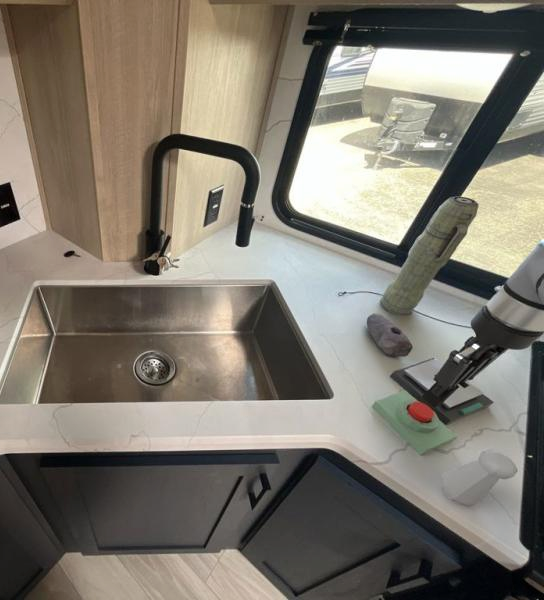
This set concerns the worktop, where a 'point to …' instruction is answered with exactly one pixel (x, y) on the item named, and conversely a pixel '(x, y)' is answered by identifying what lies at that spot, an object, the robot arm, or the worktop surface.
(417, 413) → the tare button
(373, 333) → the perforated stone tool
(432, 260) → the thermos
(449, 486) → the salt shaker
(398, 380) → the scale base
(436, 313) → the worktop surface
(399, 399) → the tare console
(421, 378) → the scale pan
